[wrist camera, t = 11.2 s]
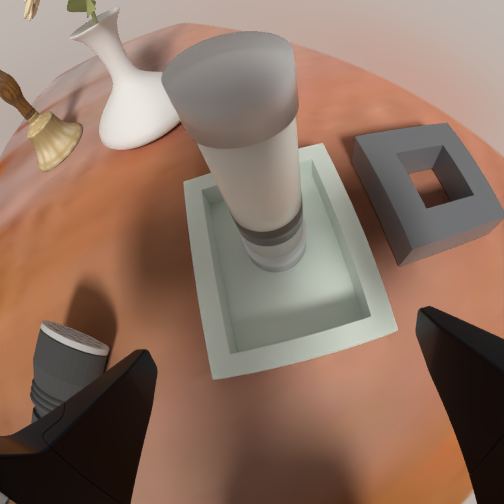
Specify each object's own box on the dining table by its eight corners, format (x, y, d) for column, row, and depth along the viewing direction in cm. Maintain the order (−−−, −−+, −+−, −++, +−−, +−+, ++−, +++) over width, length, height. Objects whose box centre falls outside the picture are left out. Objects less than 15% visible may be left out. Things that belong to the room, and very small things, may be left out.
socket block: (487, 234, 17) (506, 215, 14) (398, 266, 17) (412, 249, 15) (437, 145, 20) (447, 122, 18) (351, 162, 21) (355, 136, 18)
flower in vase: (105, 120, 30) (9, -23, 7) (185, 77, 30) (113, -86, 8) (113, 189, 25) (-46, -7, 2) (220, 131, 25) (118, -117, 2)
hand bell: (92, 124, 31) (29, 39, 16) (55, 175, 28) (-25, 95, 14) (64, 124, 33) (9, 54, 19) (32, 168, 31) (-34, 102, 16)
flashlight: (93, 503, 14) (52, 519, 9) (52, 470, 15) (10, 477, 10) (123, 352, 19) (73, 343, 14) (77, 328, 20) (29, 314, 15)
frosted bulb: (318, 248, 18) (322, 55, 6) (268, 284, 18) (193, 117, 6) (282, 207, 19) (245, 23, 8) (236, 238, 19) (146, 70, 7)
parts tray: (383, 336, 16) (397, 330, 13) (227, 378, 17) (212, 379, 14) (322, 169, 21) (322, 142, 19) (197, 203, 22) (183, 181, 19)
